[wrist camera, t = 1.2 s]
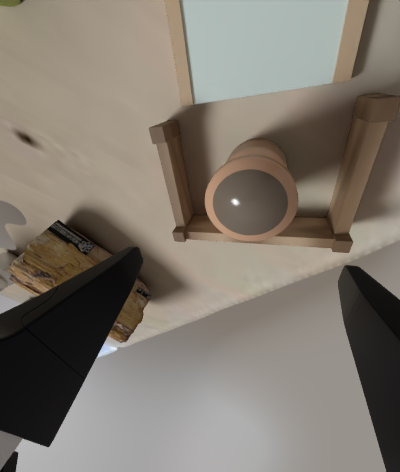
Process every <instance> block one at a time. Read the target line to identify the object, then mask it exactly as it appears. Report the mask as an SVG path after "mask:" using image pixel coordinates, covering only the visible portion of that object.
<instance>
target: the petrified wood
mask: <svg viewBox="0 0 400 472" xmlns="http://www.w3.org/2000/svg"><path fill="white" fill-rule="evenodd" d="M111 256H113V255H112V254H110V253H109V252H107V251H106V250H104V249H102V248H100V247H99V246H97V245H96V244H94V243H93V242H91V241H90V240H88V239H87V238H86V237H85V236H83V235H81V234H79V233H78V232H76V231H75V230H73V229H72V228H70V227H68V226H66V225H65V224H63V223H62V222H61V221H59V220H58V221H56V222H55V223H54V224H53V225H51V226H50V227H49V228H48V229H47V230H45V231H44V232H43V233H42V234H41V235H39V236H38V237H36V238H35V239H34V240H33V241H32V242H31V243H30V244H28V246H27V249H26V250H25V252H24V253H23V254H21V255H20V256H19V257H18V258H16V259H15V260H14V261H13V262H12V263H10V264H9V266H8V267H7V270H8V271H9V273H10V274H11V275H10V278H9V279H10V280H11V281H13V282H14V283H16V284H17V285H18V286H20V287H21V288H23V289H25V290H27V291H29V292H31V293H32V294H34V295H36V296H39V295H40V294H42V293H44V292H46V291H48V290H50V289H52V288H54V287H55V286H57V285H60V284H61V283H63V282H65V281H67V280H69V279H70V278H72V277H74V276H76V275H78V274H80V273H81V272H83V271H85V270H87V269H89V268H91V267H93V266H94V265H96V264H98V263H100V262H102V261H104V260H105V259H107V258H109V257H111ZM151 296H152V295H151V294H150V293H149V290H148V289H147V288H146V286H145V285H144V284H143V283H142V282H141V281H140V280H139V279H136V281H135V284H134V286H133V289H132V291H131V293H130V295H129V297H128V298H127V300H126V302H125V304H124V306H123V308H122V310H121V312H120V314H119V316H118V318H117V319H116V321H115V323H114V325H113V327H112V329H111V331H110V333H109V335H108V336H109V337H111V338H113V339H115V340H117V341H119V342H121V343H122V342H126V341H127V340H128V338H129V337H130V335H131V334H132V333H134V330H135V329H136V327H137V325H138V324H139V323H141V321H142V319H143V310H144V308H145V306H146V305H147V303H148V301H149V300H150V298H151Z"/></svg>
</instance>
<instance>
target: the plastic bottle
mask: <svg viewBox="0 0 400 472" xmlns="http://www.w3.org/2000/svg"><path fill="white" fill-rule="evenodd" d="M16 258H18V257H17V256H15V255H13V254H11V253H8V252H5V253H0V291H1V290H3V289H4V288H6V287H7V286H8V285H11V284H13V283H14V282H13V281H11V280H10V279H9V278H10V275H11V274H10V273H9V271H8V270H7V267H8V266H9V264H10V263H12V262H13V261H14V260H15V259H16Z"/></svg>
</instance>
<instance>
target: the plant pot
mask: <svg viewBox="0 0 400 472" xmlns="http://www.w3.org/2000/svg"><path fill="white" fill-rule="evenodd" d="M20 2H21V0H0V6H8V7H12V6H16V5H18V4H19V3H20Z"/></svg>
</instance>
